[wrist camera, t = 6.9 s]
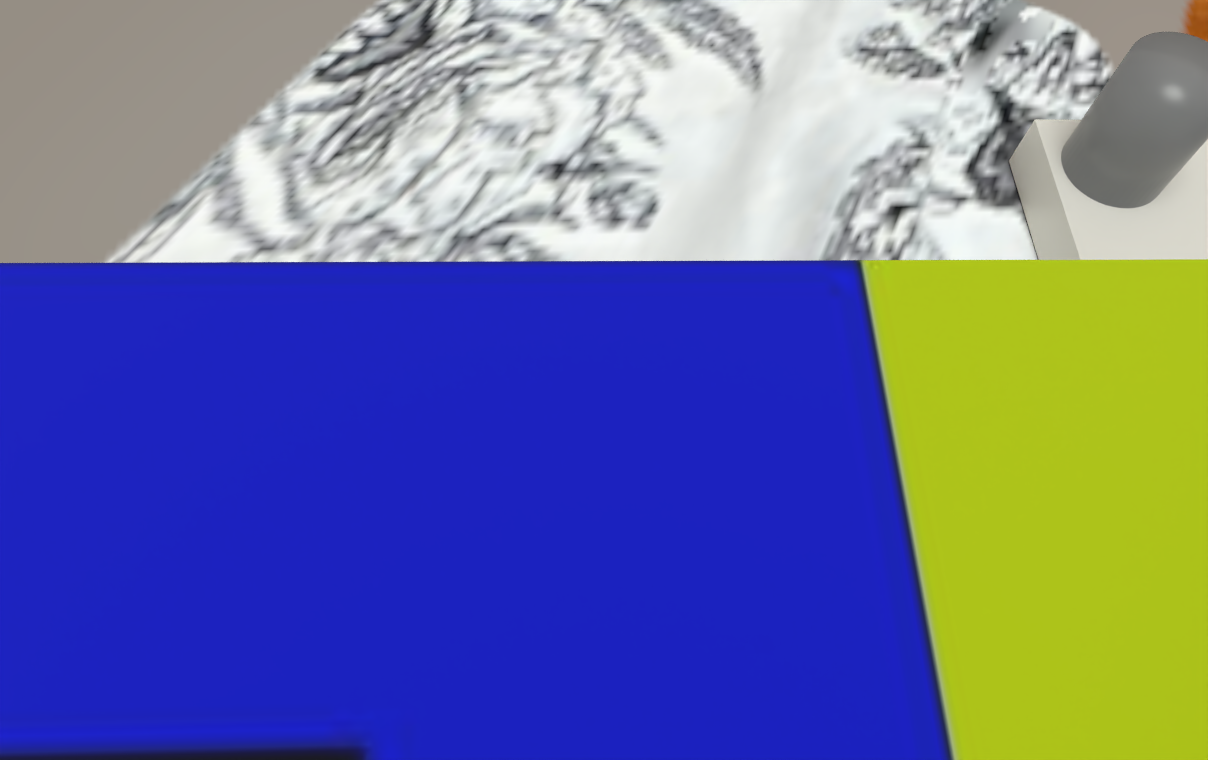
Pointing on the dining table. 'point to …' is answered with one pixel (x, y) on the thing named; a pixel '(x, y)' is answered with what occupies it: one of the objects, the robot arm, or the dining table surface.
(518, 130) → the dining table surface
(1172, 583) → the puzzle toy
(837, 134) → the dining table surface
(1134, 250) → the stub base
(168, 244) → the dining table surface
